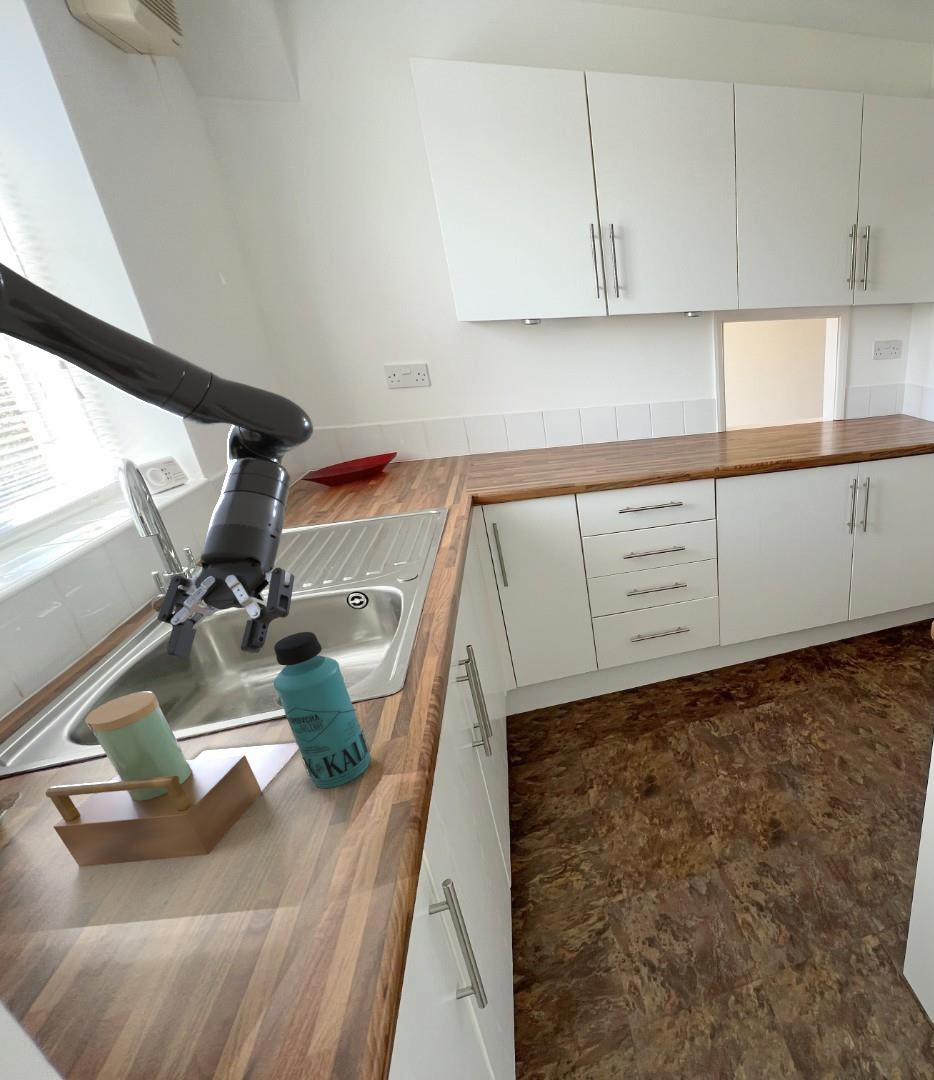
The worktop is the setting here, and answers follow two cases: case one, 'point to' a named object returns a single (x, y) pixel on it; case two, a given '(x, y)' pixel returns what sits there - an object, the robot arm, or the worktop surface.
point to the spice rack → (166, 807)
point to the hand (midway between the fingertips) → (214, 654)
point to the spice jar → (138, 741)
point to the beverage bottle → (319, 712)
